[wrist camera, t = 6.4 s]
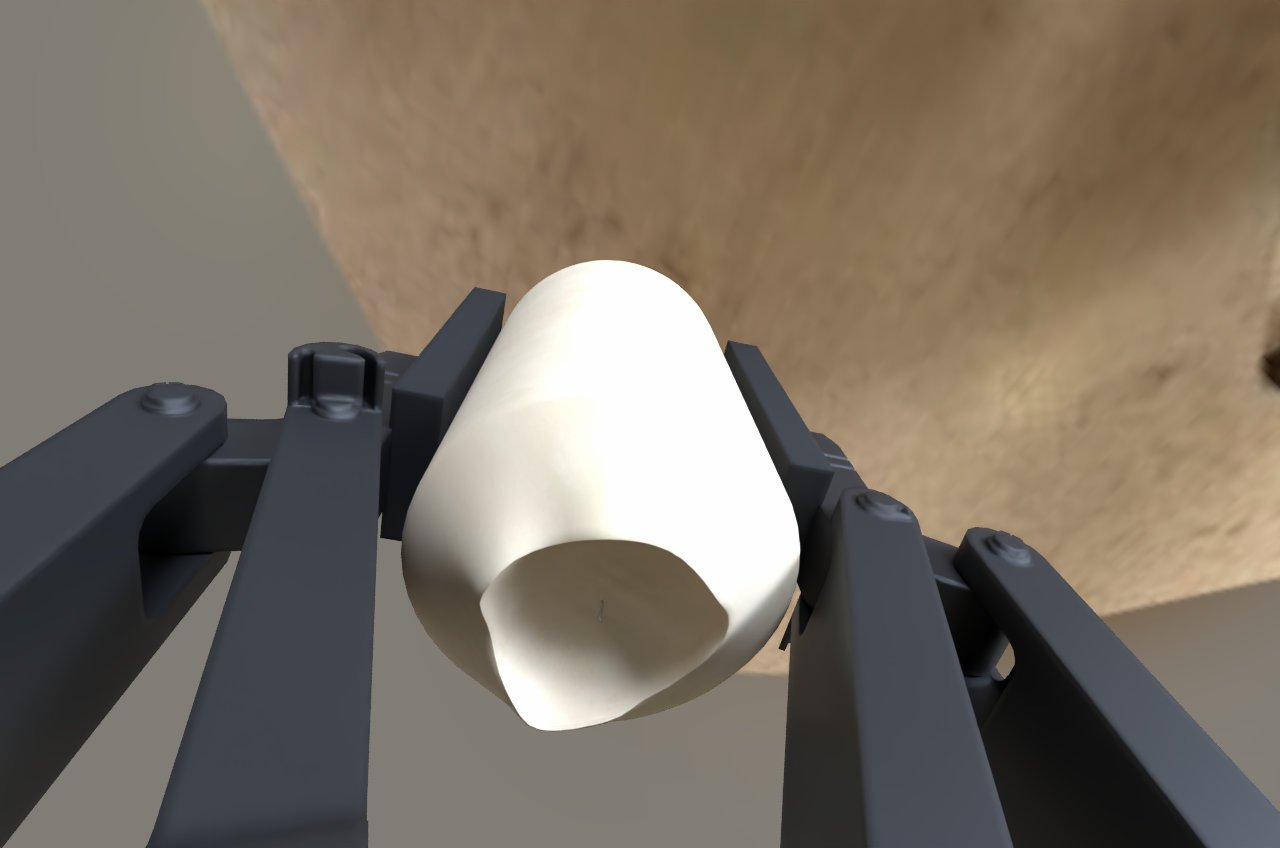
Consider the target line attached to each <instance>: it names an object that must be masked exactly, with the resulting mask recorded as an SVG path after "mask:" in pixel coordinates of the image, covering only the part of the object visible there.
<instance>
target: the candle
mask: <svg viewBox="0 0 1280 848" xmlns="http://www.w3.org/2000/svg"><path fill="white" fill-rule="evenodd" d="M401 558H402V569H403V577H404V580H405V585H406V588H407V593H408V596H409V599H410V601H411V603H412V606H413V608H414V611H415V613H416V615H417V617H418V619H419V620H420V622H421V624H422V625H423V627H424V629H425V630H426V632H427V634H428V635H429V636H430V637H431V639H432V640H433V641H434V643H435V644H436V645H437V646H438V647H439V649H440V650H441V651H442V652H443V653H444V654H445V655H446V656H447V657H448V658H449V659H450V660H451V661H452V662H454V664H455V665H457V667H459V668H460V669H461V670H463V671H464V672H465V673H467V674H468V675H469V676H471V677H472V678H473V679H475V680H476V681H478V682H479V683H480V684H481V685H483V686H484V687H485V688H487V689H488V690H489V691H491V692H492V693H493V694H495V695H496V696H497V697H499V698H500V699H501V700H503V701H504V702H505V703H506V704H507V705H509V706H510V707H511V708H512V709H513V711H514V712H515V713H516V714H517V715H518V716H519V717H520V718H521V719H522V720H523V721H524V722H525V723H526V724H527V725H528V726H530V727H533V728H535V729H538V730H544V731H554V732H555V731H567V730H575V729H580V728H586V727H591V726H596V725H600V724H605V723H608V722H611V721H620V720H628V719H634V718H639V717H644V716H647V715H651V714H654V713H658V712H661V711H665V710H667V709H670V708H673V707H675V706H678V705H680V704H683V703H686V702H688V701H690V700H692V699H694V698H696V697H698V696H700V695H702V694H704V693H706V692H708V691H710V690H711V689H713V688H714V687H716V686H717V685H719V684H721V683H722V682H724V681H725V680H726V679H728V678H729V677H731V676H732V675H733V674H734V673H736V672H737V671H738V670H739V669H741V668H742V667H743V666H744V665H745V664H747V663H748V662H749V661H750V660H751V659H752V658H753V657H754V656H755V655H756V654H757V653H758V652H759V651H760V650H761V649H762V648H763V647H764V645H765V644H766V643H767V641H768V640H769V639H770V637H771V636H772V635H773V633H774V632H775V631H776V629H777V628H778V626H779V624H780V622H781V620H782V619H783V617H784V615H785V613H786V611H787V609H788V607H789V604H790V601H791V599H792V596H793V593H794V591H795V586H796V582H797V577H798V572H799V561H800V542H799V533H798V525H797V522H796V518H795V514H794V511H793V507H792V504H791V502H790V500H789V497H788V495H787V493H786V491H785V488H784V486H783V484H782V482H781V480H780V477H779V475H778V473H777V471H776V469H775V466H774V464H773V462H772V460H771V458H770V455H769V453H768V451H767V449H766V447H765V444H764V442H763V440H762V438H761V436H760V434H759V431H758V429H757V427H756V425H755V423H754V420H753V418H752V416H751V414H750V412H749V410H748V407H747V405H746V403H745V401H744V399H743V396H742V394H741V392H740V390H739V388H738V386H737V383H736V381H735V379H734V377H733V375H732V372H731V370H730V368H729V366H728V364H727V362H726V359H725V357H724V355H723V353H722V351H721V348H720V346H719V344H718V342H717V340H716V338H715V335H714V333H713V331H712V329H711V327H710V325H709V323H708V321H707V319H706V318H705V316H704V314H703V313H702V311H701V310H700V308H699V306H698V305H697V304H696V303H695V301H694V300H693V299H692V298H691V297H690V296H689V294H687V293H686V292H685V291H684V290H683V289H682V288H681V287H680V286H679V285H677V284H676V283H675V282H673V281H672V280H670V279H669V278H667V277H666V276H664V275H662V274H660V273H658V272H656V271H654V270H652V269H650V268H647V267H644V266H641V265H638V264H634V263H629V262H624V261H614V260H599V261H590V262H585V263H580V264H576V265H573V266H570V267H567V268H564V269H562V270H560V271H558V272H556V273H554V274H552V275H550V276H548V277H547V278H545V279H544V280H542V281H541V282H539V283H538V284H536V285H535V286H534V287H533V288H532V289H531V290H530V291H529V292H528V293H527V294H525V296H524V297H523V298H522V299H521V300H520V302H519V303H518V304H517V305H516V307H515V308H514V310H513V311H512V313H511V315H510V316H509V318H508V320H507V321H506V323H505V324H504V326H503V328H502V330H501V332H500V333H499V335H498V337H497V339H496V341H495V343H494V345H493V347H492V348H491V350H490V352H489V354H488V356H487V358H486V360H485V361H484V363H483V365H482V367H481V369H480V371H479V373H478V375H477V376H476V378H475V380H474V382H473V384H472V386H471V388H470V390H469V391H468V393H467V395H466V397H465V399H464V401H463V403H462V404H461V406H460V408H459V410H458V412H457V414H456V416H455V418H454V419H453V421H452V423H451V425H450V427H449V429H448V431H447V432H446V434H445V436H444V438H443V440H442V442H441V444H440V446H439V447H438V449H437V451H436V453H435V455H434V457H433V459H432V461H431V462H430V464H429V466H428V468H427V470H426V472H425V474H424V476H423V477H422V479H421V481H420V483H419V485H418V487H417V489H416V492H415V494H414V496H413V499H412V501H411V504H410V506H409V508H408V512H407V516H406V520H405V524H404V528H403V535H402V548H401Z"/></svg>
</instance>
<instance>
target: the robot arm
mask: <svg viewBox="0 0 1280 848" xmlns="http://www.w3.org/2000/svg"><path fill="white" fill-rule="evenodd" d="M505 300H506V294H505V293H501V292H496V291H491V290H486V289H482V288H477V287H474V289H473V290H472V291H471V292H470V294H469V295H468V296H467V297H466V298H465V300H464V301H463V302H462V303H461V305H460V306H459V307H458V308H457V309H456V311H455V312H454V313H453V314H452V316H451V317H450V318H449V319H448V321H447V322H446V323H445V324H444V325H443V327H442V328H441V329H440V330H439V332H438V333H437V334H436V335H435V336H434V338H433V339H432V340H431V341H430V343H429V344H428V345H427V346H426V347H425V349H424V350H423V351H422V352H421V354H420V355H419V356H413V355H408V354H402V353H397V352H392V351H385V352H382V353H379V354H378V353H377V352H375V351H373V350H371V349H368V348H365V347H361V346H358V345H352V344H345V343H335V342H320V343H310V344H305V345H302V346H299V347H296V348H294V349H293V350H292V351H291V352H290V353H289V354H288V406H287V409H286V412H285V415H284V418H282V419H265V420H257V419H256V420H255V419H227V403H226V401H225V398H224V396H222V395H221V394H219V393H217V392H215V391H214V390H211V389H207V388H203V387H200V386H195V385H184V384H183V383H179V382H169V384H166V382H165V383H155V384H152V385H150V386H145V387H140V388H135V389H132V390H130V391H127V392H125V393H123V394H120V395H118V396H117V397H115V398H113V399H112V400H110V401H109V402H107V403H105V404H104V405H102V406H100V407H99V408H97V409H95V410H94V411H92V412H91V413H89V414H87V415H86V416H84V417H83V418H81V419H79V420H78V421H76V422H74V423H73V424H71V425H69V426H68V427H66V428H65V429H63V430H61V431H60V432H58V433H56V434H55V435H53V436H52V437H50V438H49V439H47V440H45V441H44V442H42V443H40V444H39V445H37V446H36V447H34V448H32V449H31V450H29V451H28V452H26V453H24V454H22V455H21V456H19V457H18V458H16V459H14V460H13V461H11V462H9V463H8V464H6V465H5V466H3V467H1V468H0V848H2V847H3V846H4V845H5V843H6V842H7V841H8V840H9V838H10V837H11V836H12V834H13V833H14V832H15V831H16V829H17V828H18V827H19V826H20V824H21V823H22V822H23V820H24V819H25V818H26V817H27V815H28V814H29V813H30V811H31V810H32V809H33V808H34V806H35V805H36V804H37V803H38V801H39V800H40V799H41V798H42V796H43V795H44V794H45V793H46V791H47V790H48V789H49V787H50V786H51V785H52V784H53V782H54V781H55V780H56V779H57V777H58V776H59V775H60V773H61V772H62V771H63V769H64V768H65V767H66V766H67V765H68V763H69V762H70V761H71V759H72V758H73V757H74V756H75V754H76V753H77V752H78V751H79V749H80V748H81V747H82V745H83V744H84V743H85V742H86V740H87V739H88V738H89V737H90V735H91V734H92V732H94V730H95V729H96V728H97V726H98V725H99V724H100V723H101V721H102V720H103V719H104V717H105V716H106V715H107V714H108V712H109V711H110V710H111V709H112V707H113V706H114V705H115V704H116V702H117V701H118V700H119V699H120V697H121V696H122V695H123V693H124V692H125V691H126V690H127V688H128V687H129V686H130V684H131V683H132V682H133V681H134V679H135V678H136V677H137V676H138V674H139V673H140V672H141V671H142V669H143V668H144V667H145V665H146V664H147V663H148V662H149V660H150V659H151V658H152V656H153V655H154V654H155V653H156V651H157V650H158V649H159V648H160V646H161V645H162V644H163V643H164V641H165V640H166V639H167V637H168V636H169V635H170V634H171V632H172V631H173V630H174V628H175V627H176V626H177V625H178V623H179V622H180V621H181V620H182V618H183V617H184V616H185V615H186V613H187V612H188V611H189V610H190V608H191V607H192V606H193V604H194V603H195V602H196V601H197V599H198V598H199V597H200V596H201V594H202V593H203V592H204V590H205V589H206V588H207V587H208V585H209V584H210V583H211V582H212V580H213V579H214V578H215V576H216V575H217V574H218V573H219V571H220V570H221V569H222V568H223V566H224V565H225V564H226V563H227V561H228V558H229V556H230V553H231V551H241V554H240V557H239V561H238V564H237V567H236V570H235V573H234V576H233V580H232V583H231V586H230V589H229V592H228V596H227V599H226V602H225V605H224V608H223V611H222V614H221V618H220V621H219V624H218V627H217V630H216V633H215V637H214V640H213V643H212V646H211V649H210V653H209V656H208V659H207V662H206V666H205V668H204V671H203V674H202V678H201V681H200V684H199V687H198V691H197V694H196V697H195V700H194V703H193V706H192V709H191V712H190V716H189V719H188V722H187V725H186V728H185V732H184V735H183V738H182V741H181V744H180V747H179V750H178V754H177V757H176V760H175V763H174V766H173V769H172V773H171V776H170V779H169V782H168V785H167V788H166V792H165V795H164V798H163V801H162V804H161V808H160V810H159V814H158V817H157V820H156V823H155V826H154V829H153V832H152V834H151V837H150V839H149V842H148V844H147V846H146V848H368V821H367V788H368V762H369V761H368V760H369V735H370V710H371V685H372V659H373V634H374V609H375V608H374V607H375V583H376V556H377V531H378V518H379V516H380V515H381V513H382V524H381V535H380V538H385V539H391V540H397V541H402V535H403V528H404V524H405V520H406V516H407V512H408V508H409V506H410V504H411V501H412V499H413V496H414V494H415V492H416V489H417V487H418V485H419V483H420V481H421V479H422V477H423V476H424V474H425V472H426V470H427V468H428V466H429V464H430V462H431V461H432V459H433V457H434V455H435V453H436V451H437V449H438V447H439V446H440V444H441V442H442V440H443V438H444V436H445V434H446V432H447V431H448V429H449V427H450V425H451V423H452V421H453V419H454V418H455V416H456V414H457V412H458V410H459V408H460V406H461V404H462V403H463V401H464V399H465V397H466V395H467V393H468V391H469V390H470V388H471V386H472V384H473V382H474V380H475V378H476V376H477V375H478V373H479V371H480V369H481V367H482V365H483V363H484V361H485V360H486V358H487V356H488V354H489V352H490V350H491V348H492V347H493V345H494V343H495V341H496V339H497V337H498V335H499V333H500V332H501V328H502V321H503V314H504V307H505ZM724 357H725V359H726V362H727V364H728V366H729V368H730V370H731V372H732V375H733V377H734V379H735V381H736V383H737V386H738V388H739V390H740V392H741V394H742V396H743V399H744V401H745V403H746V405H747V407H748V410H749V412H750V414H751V416H752V418H753V420H754V423H755V425H756V427H757V429H758V431H759V434H760V436H761V438H762V440H763V442H764V444H765V447H766V449H767V451H768V453H769V455H770V458H771V460H772V462H773V464H774V466H775V469H776V471H777V473H778V475H779V477H780V480H781V482H782V484H783V486H784V488H785V491H786V493H787V495H788V497H789V500H790V502H791V504H792V507H793V511H794V514H795V518H796V522H797V525H798V533H799V542H800V561H799V572H798V577H797V583H798V586H799V588H800V591H801V594H800V596H799V599H798V601H797V604H796V606H795V609H794V611H793V614H792V616H791V619H790V621H789V624H788V626H787V629H786V631H785V634H784V636H783V639H782V641H781V644H780V646H779V649H781V650H784V651H785V649H786V647H787V645H788V643H790V663H789V684H788V704H787V724H786V744H785V764H784V766H785V767H784V785H783V805H782V824H781V844H780V848H1280V812H1279V811H1278V810H1277V809H1276V808H1275V807H1274V806H1273V805H1272V804H1271V802H1270V801H1269V800H1268V799H1267V798H1266V797H1265V796H1264V795H1263V794H1262V793H1261V792H1260V791H1259V789H1258V788H1257V787H1256V786H1255V785H1254V784H1253V783H1252V782H1251V781H1250V780H1249V779H1248V778H1247V776H1246V775H1245V774H1244V773H1243V772H1242V771H1241V770H1240V769H1239V768H1238V767H1237V766H1236V765H1235V764H1234V762H1232V760H1231V759H1230V758H1229V757H1228V756H1227V755H1226V754H1225V753H1224V752H1223V751H1222V749H1221V748H1220V747H1219V746H1218V745H1217V744H1216V743H1215V742H1214V741H1213V740H1212V739H1211V738H1210V737H1209V736H1208V734H1207V733H1206V732H1205V731H1204V730H1203V729H1202V728H1201V727H1200V726H1199V725H1198V724H1197V722H1196V721H1195V720H1194V719H1193V718H1192V717H1191V716H1190V715H1189V714H1188V713H1187V712H1186V711H1185V710H1184V708H1183V707H1182V706H1181V705H1180V704H1179V703H1178V702H1177V701H1176V700H1175V699H1174V698H1173V696H1172V695H1171V694H1170V693H1169V692H1168V691H1167V690H1166V689H1165V688H1164V687H1163V686H1162V685H1161V683H1160V682H1159V681H1158V680H1157V679H1156V678H1155V677H1154V676H1153V675H1152V674H1151V673H1150V672H1149V671H1148V669H1147V668H1146V667H1145V666H1144V665H1143V664H1142V663H1141V662H1140V661H1139V660H1138V659H1137V658H1136V657H1135V656H1134V654H1133V653H1132V652H1131V651H1130V650H1129V649H1128V648H1127V647H1126V646H1125V645H1124V643H1123V642H1122V641H1121V640H1120V639H1119V638H1118V637H1117V636H1116V635H1115V634H1114V633H1113V632H1112V631H1111V630H1110V629H1109V627H1108V626H1107V625H1106V624H1105V623H1104V622H1103V621H1102V620H1101V619H1100V618H1099V616H1098V615H1097V614H1096V613H1095V612H1094V611H1093V610H1092V609H1091V608H1090V607H1089V606H1088V605H1087V603H1086V602H1085V601H1084V600H1083V599H1082V598H1081V597H1080V596H1079V595H1078V594H1077V593H1076V592H1075V591H1074V589H1073V588H1072V587H1071V586H1070V585H1069V584H1068V583H1067V582H1066V581H1065V580H1064V579H1063V578H1062V576H1061V575H1060V574H1059V573H1058V572H1057V571H1056V570H1055V569H1054V568H1053V567H1052V566H1051V565H1050V563H1049V562H1048V561H1047V560H1046V559H1045V558H1044V557H1043V556H1042V555H1040V554H1039V553H1038V552H1037V551H1036V550H1035V549H1033V548H1032V547H1030V546H1028V545H1027V544H1025V543H1024V542H1023V540H1022V539H1020V538H1018V537H1016V536H1014V535H1012V536H1011V535H1010V534H1009V533H1007V532H1004V531H996V530H992V529H989V528H980V527H975V528H971V529H968V530H967V532H966V534H965V536H964V538H963V540H962V542H961V544H960V546H959V548H958V547H955V546H952V545H949V544H946V543H943V542H940V541H937V540H935V539H932V538H929V537H926V536H924V535H922V533H921V530H920V526H919V523H918V520H917V518H916V516H915V515H914V513H913V512H912V511H911V510H910V509H909V508H908V507H907V506H905V505H904V504H903V503H901V502H899V501H898V500H896V499H894V498H892V497H891V496H889V495H886V494H884V493H882V492H878V491H876V490H871V489H868V488H867V486H866V485H865V483H864V482H863V481H862V479H861V478H860V476H859V475H858V473H857V472H856V471H854V467H853V466H852V464H851V463H850V462H849V461H847V457H846V456H845V454H844V453H843V451H842V450H841V448H840V447H839V446H838V445H837V444H835V443H834V442H833V441H831V440H830V439H829V438H827V437H826V436H825V435H824V434H820V433H815V432H810V431H809V429H808V428H807V426H806V425H805V423H804V421H803V420H802V418H801V417H800V415H799V413H798V412H797V410H796V409H795V407H794V405H793V404H792V402H791V400H790V399H789V397H788V396H787V394H786V392H785V391H784V389H783V388H782V386H781V384H780V383H779V381H778V380H777V378H776V376H775V375H774V373H773V372H772V370H771V368H770V367H769V365H768V364H767V362H766V360H765V359H764V357H763V356H762V354H761V352H760V351H759V349H758V348H757V346H752V345H747V344H743V343H738V342H733V341H728V342H727V346H726V349H725V353H724ZM1009 642H1010V644H1011V646H1012V648H1013V650H1014V656H1015V665H1014V667H1013V668H1012V670H1011V672H1010V674H1009V675H1008V676H1007V677H1006V678H1005V679H1003V677H1002V676H1001V675H1000V673H999V672H998V670H997V669H996V667H995V666H996V665H997V663H998V661H999V659H1000V658H1001V656H1002V654H1003V653H1004V651H1005V649H1006V647H1007V646H1008V644H1009Z"/></svg>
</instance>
